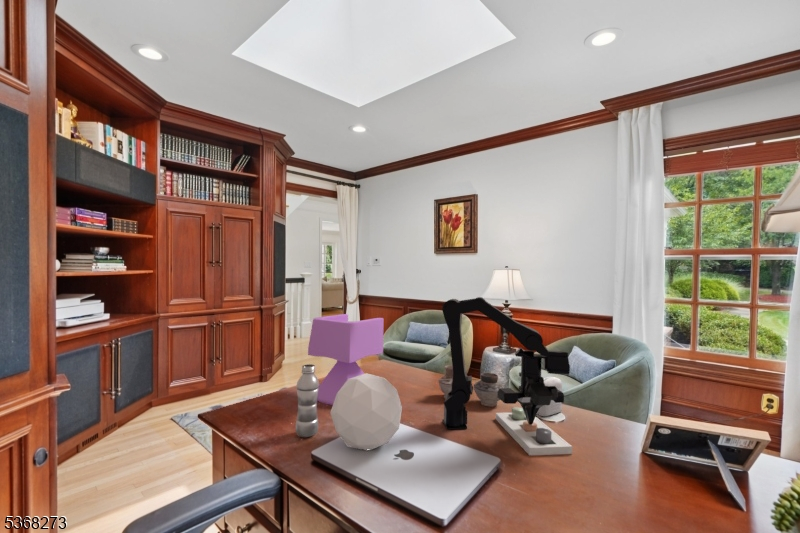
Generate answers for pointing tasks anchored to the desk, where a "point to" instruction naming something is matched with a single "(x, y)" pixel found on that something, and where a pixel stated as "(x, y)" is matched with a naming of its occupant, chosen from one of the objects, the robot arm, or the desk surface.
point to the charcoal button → (543, 436)
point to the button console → (533, 437)
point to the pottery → (475, 386)
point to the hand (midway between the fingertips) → (530, 423)
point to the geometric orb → (366, 411)
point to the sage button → (518, 414)
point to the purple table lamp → (343, 348)
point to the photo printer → (553, 406)
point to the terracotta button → (529, 427)
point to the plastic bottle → (307, 402)
